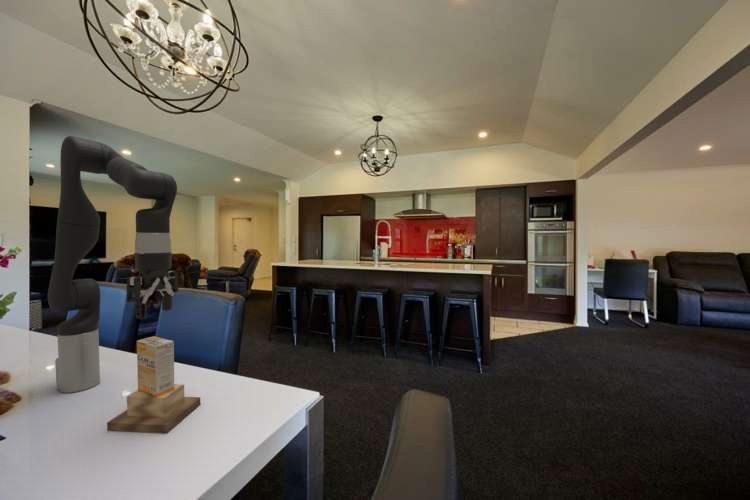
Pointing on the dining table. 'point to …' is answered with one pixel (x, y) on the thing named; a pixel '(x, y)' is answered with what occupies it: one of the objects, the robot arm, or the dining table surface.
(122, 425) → the board
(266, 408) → the dining table surface
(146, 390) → the supplement box
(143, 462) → the dining table surface
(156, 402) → the oak block
